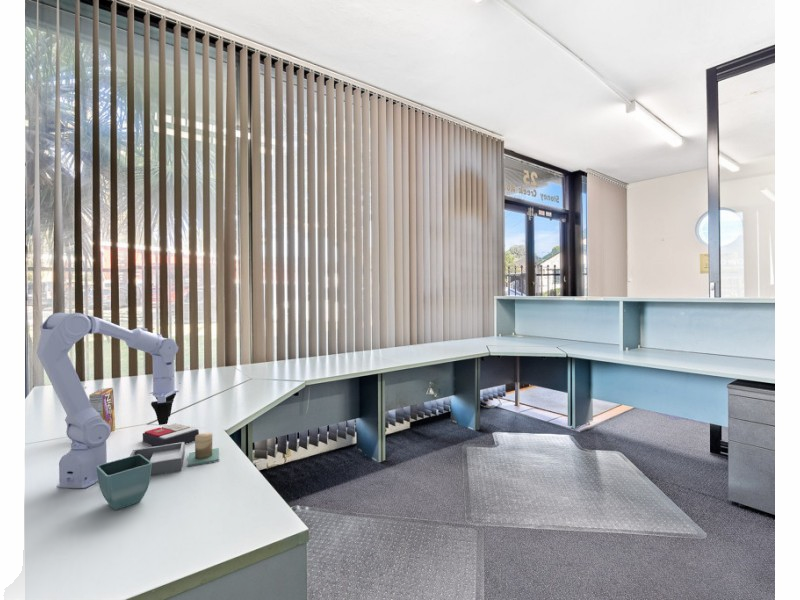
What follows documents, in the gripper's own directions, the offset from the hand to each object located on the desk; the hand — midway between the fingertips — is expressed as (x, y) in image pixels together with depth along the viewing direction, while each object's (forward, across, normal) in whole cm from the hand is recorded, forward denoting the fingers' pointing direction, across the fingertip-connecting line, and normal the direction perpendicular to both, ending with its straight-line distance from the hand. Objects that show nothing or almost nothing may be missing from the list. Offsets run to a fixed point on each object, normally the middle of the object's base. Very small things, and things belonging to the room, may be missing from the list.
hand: (164, 420), depth 118 cm
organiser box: (+9, -12, +1) cm, 15 cm away
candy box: (+10, +27, +21) cm, 36 cm away
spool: (+9, -12, -11) cm, 18 cm away
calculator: (+10, +9, -1) cm, 14 cm away
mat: (+9, -12, -11) cm, 18 cm away
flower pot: (+10, -31, +5) cm, 32 cm away
